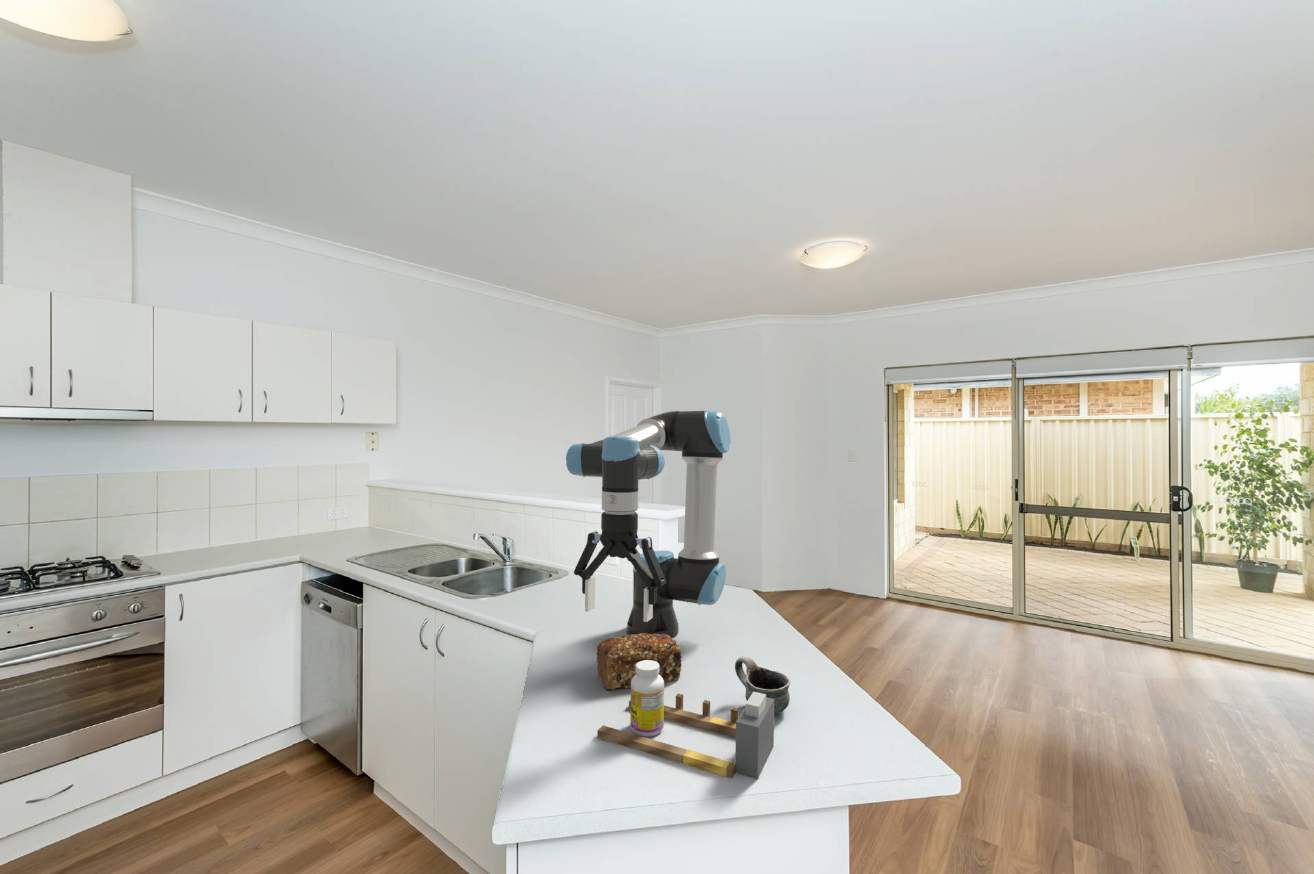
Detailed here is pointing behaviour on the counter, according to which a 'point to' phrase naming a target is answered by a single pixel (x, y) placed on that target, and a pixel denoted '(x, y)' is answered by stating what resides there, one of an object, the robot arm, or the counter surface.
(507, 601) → the counter surface
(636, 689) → the supplement bottle
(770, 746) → the grey carton
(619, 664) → the bread
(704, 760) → the wooden rack
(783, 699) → the mug
